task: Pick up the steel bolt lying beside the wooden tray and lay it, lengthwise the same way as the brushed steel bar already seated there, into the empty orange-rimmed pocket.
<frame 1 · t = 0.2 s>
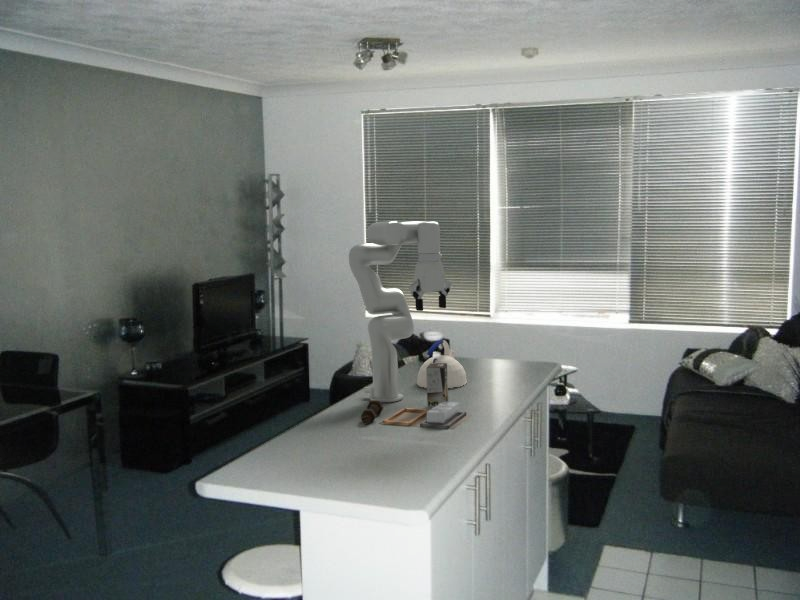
hand: (431, 309, 274), 37 cm above the worktop, tool pointing down, fingers open, 9 cm apart
coffee box: (438, 410, 285), on the worktop
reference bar: (443, 420, 266), point 1 cm above the worktop, touching wooden tray
bolt: (370, 420, 276), on the worktop
kettle: (442, 384, 329), on the worktop
wooden tray: (425, 422, 268), on the worktop
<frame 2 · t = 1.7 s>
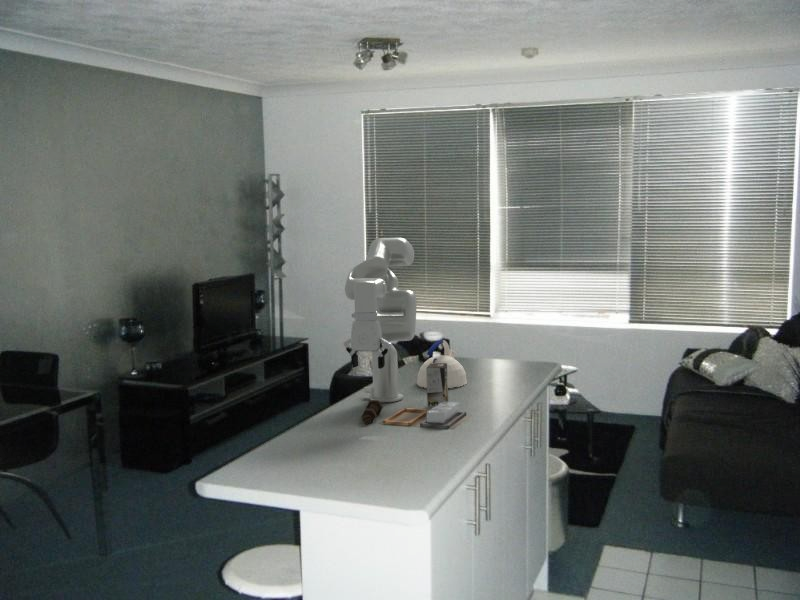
hand: (368, 367, 274), 18 cm above the worktop, tool pointing down, fingers open, 9 cm apart
nothing on the worktop moved.
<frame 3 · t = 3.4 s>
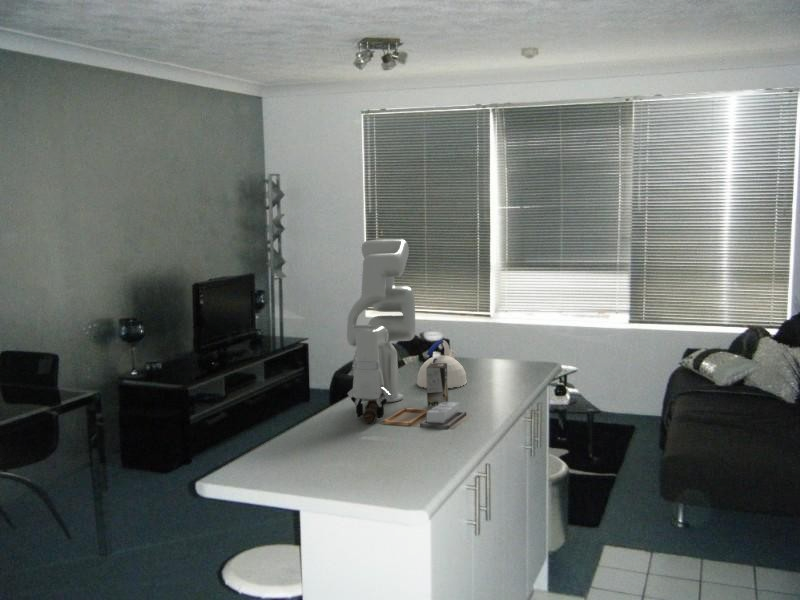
hand: (370, 416, 276), 1 cm above the worktop, tool pointing down, fingers open, 6 cm apart
bolt: (371, 420, 276), on the worktop, touching gripper
everything else where it was.
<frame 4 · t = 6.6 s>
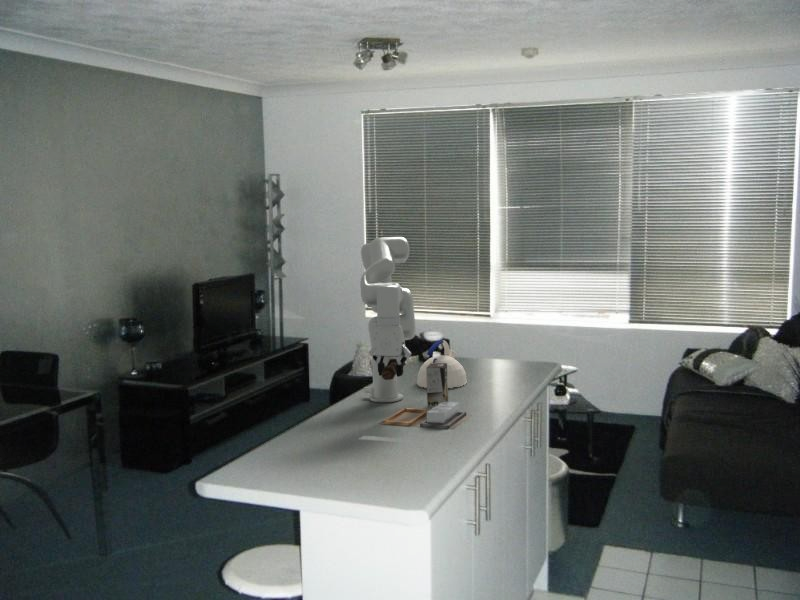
hand: (390, 374, 271), 16 cm above the worktop, tool pointing down, fingers closed on bolt, 6 cm apart
bolt: (390, 377, 272), point 15 cm above the worktop, touching gripper
everything else where it was.
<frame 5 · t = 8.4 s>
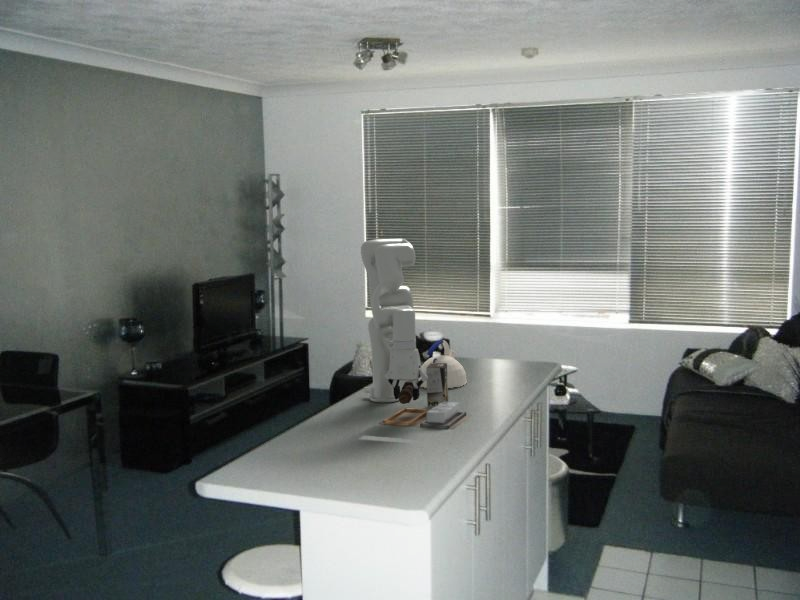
hand: (406, 398, 270), 8 cm above the worktop, tool pointing down, fingers closed on bolt, 6 cm apart
bolt: (406, 401, 271), point 7 cm above the worktop, touching gripper
everything else where it was.
when the fingers open (4 cm above the worktop, at t = 9.7 s): bolt stays where it is, resting on wooden tray.
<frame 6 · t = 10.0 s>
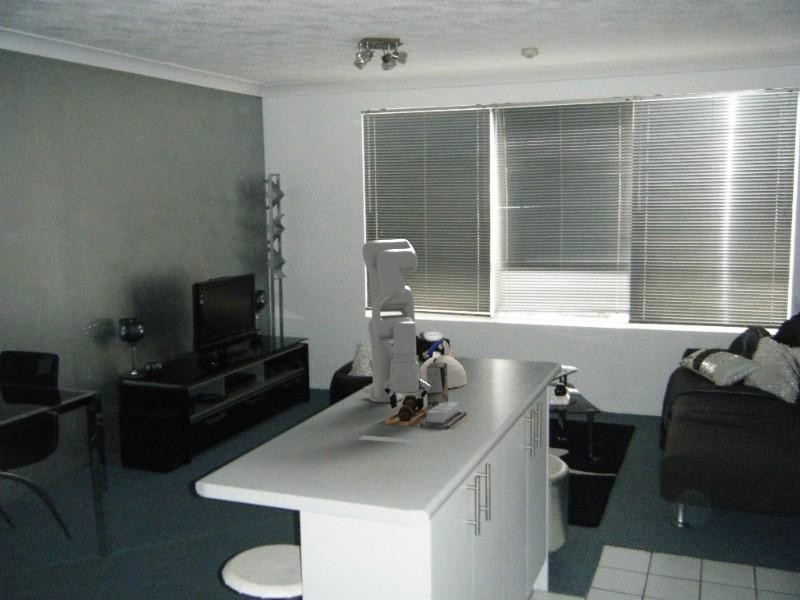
hand: (406, 408, 270), 4 cm above the worktop, tool pointing down, fingers open, 9 cm apart
bolt: (407, 416, 272), point 2 cm above the worktop, touching wooden tray
everything else where it was.
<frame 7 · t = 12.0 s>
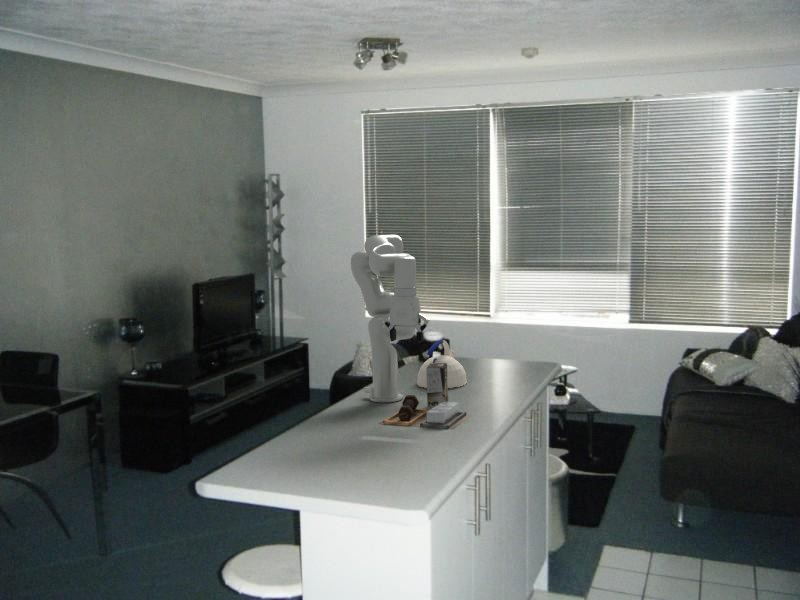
hand: (406, 341, 278), 25 cm above the worktop, tool pointing down, fingers open, 9 cm apart
nothing on the worktop moved.
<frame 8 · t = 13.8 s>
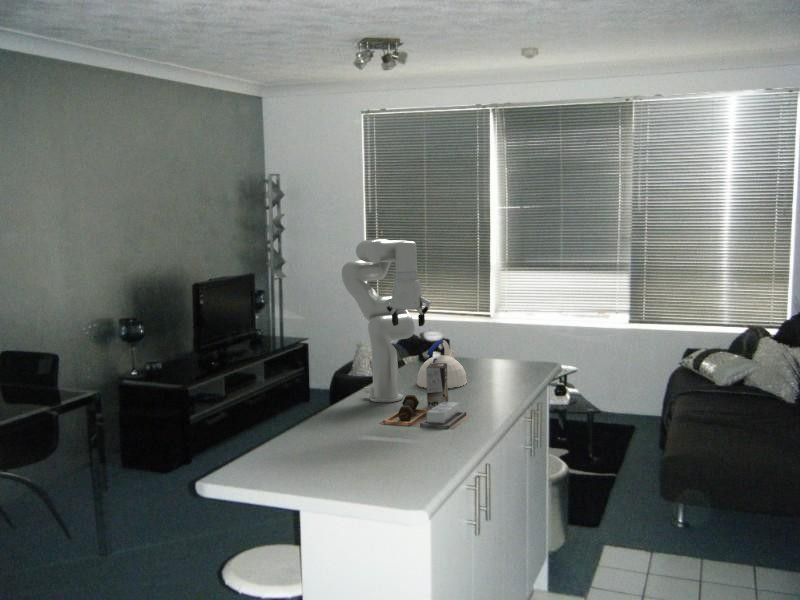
hand: (408, 325, 283), 30 cm above the worktop, tool pointing down, fingers open, 9 cm apart
nothing on the worktop moved.
at the end: bolt 0.9 cm from the target spot on the wooden tray, point 1.5 cm above the wooden tray's base; bolt tilted 4°; the gripper is holding nothing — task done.
